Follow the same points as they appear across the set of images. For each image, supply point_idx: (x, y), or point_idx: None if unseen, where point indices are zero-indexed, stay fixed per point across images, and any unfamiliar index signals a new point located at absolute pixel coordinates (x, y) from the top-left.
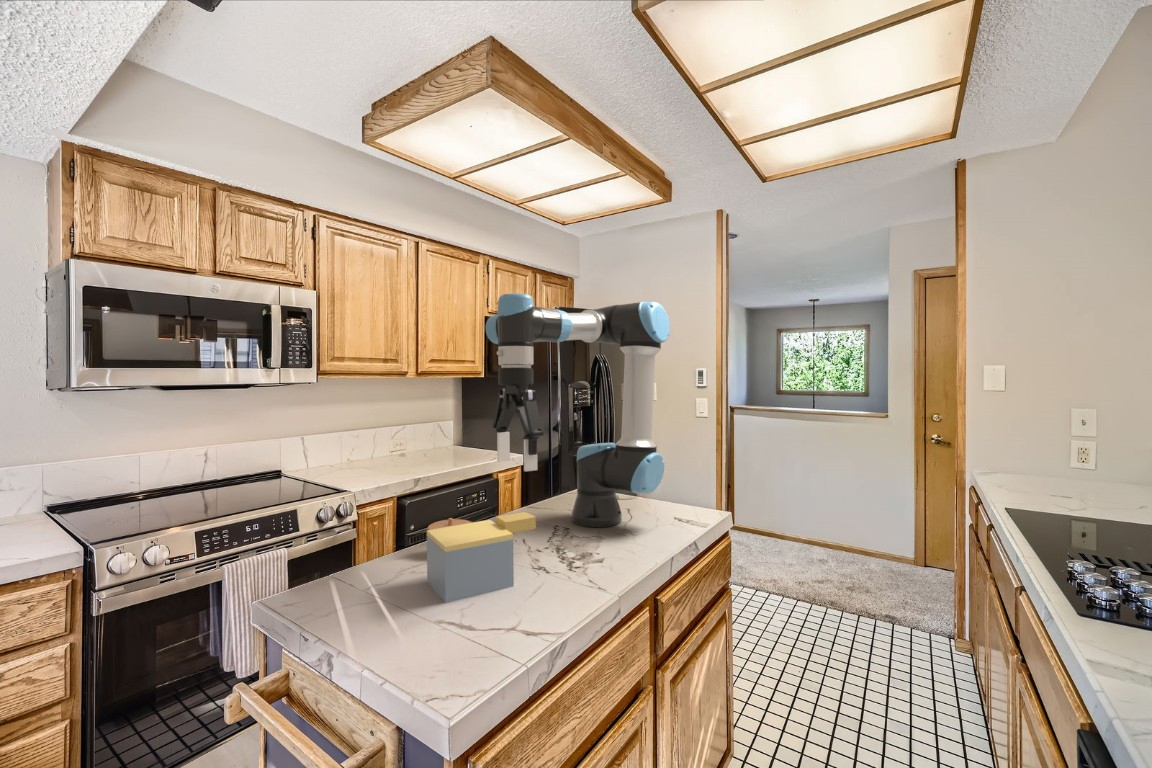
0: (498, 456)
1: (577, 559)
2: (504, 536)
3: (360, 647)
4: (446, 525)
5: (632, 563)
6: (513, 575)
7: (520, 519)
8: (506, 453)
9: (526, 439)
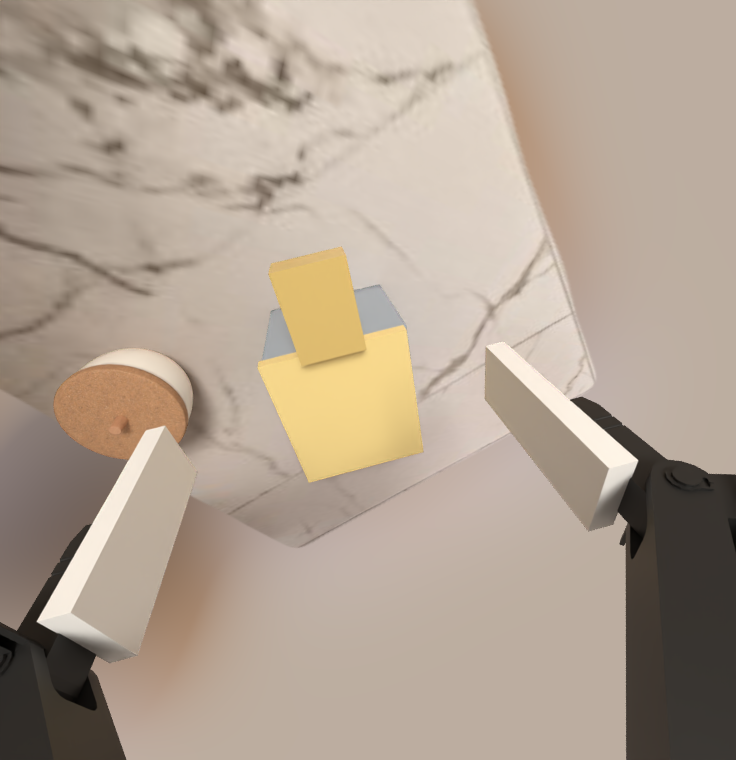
0: (187, 495)
1: (214, 36)
2: (408, 349)
3: (441, 458)
4: (128, 428)
5: None
6: (386, 295)
7: (354, 307)
8: (161, 472)
9: (613, 518)
